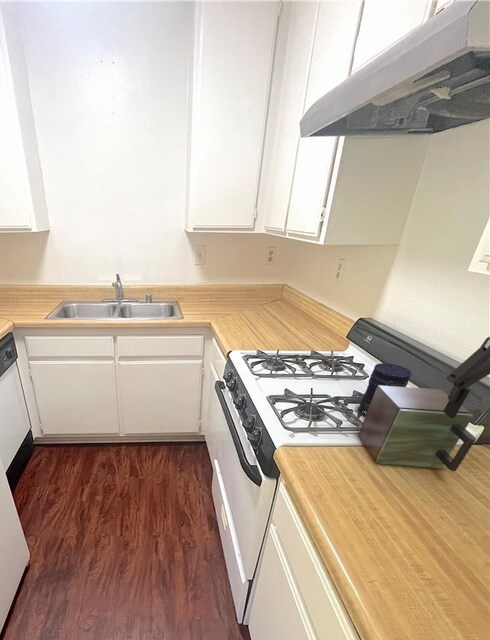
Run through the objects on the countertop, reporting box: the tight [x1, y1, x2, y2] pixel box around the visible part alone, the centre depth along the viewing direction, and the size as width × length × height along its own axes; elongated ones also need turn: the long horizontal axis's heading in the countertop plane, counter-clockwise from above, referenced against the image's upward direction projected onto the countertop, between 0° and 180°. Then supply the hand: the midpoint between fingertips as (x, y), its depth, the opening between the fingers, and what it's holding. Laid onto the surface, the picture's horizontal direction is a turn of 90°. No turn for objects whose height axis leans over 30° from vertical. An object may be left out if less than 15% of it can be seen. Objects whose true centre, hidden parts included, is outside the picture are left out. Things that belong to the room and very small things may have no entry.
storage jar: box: [357, 362, 413, 418], centre depth 106 cm, size 10×10×15 cm
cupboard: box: [357, 385, 471, 462], centre depth 89 cm, size 12×16×16 cm
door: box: [374, 409, 477, 472], centre depth 81 cm, size 7×16×16 cm, turn 84°
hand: (482, 417), depth 72 cm, fingers open, 13 cm apart
